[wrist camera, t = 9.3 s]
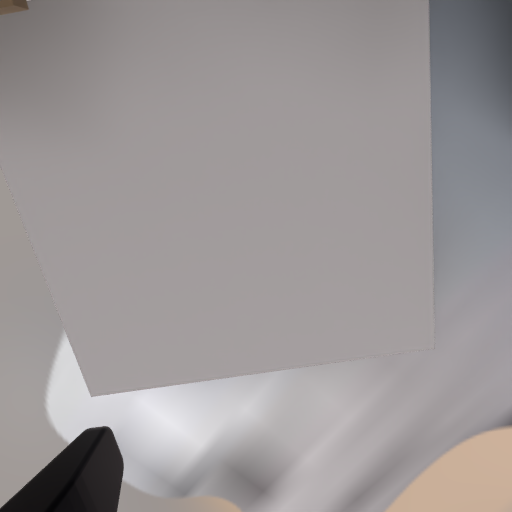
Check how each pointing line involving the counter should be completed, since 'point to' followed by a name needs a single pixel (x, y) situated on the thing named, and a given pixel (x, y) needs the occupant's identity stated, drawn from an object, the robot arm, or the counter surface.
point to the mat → (223, 181)
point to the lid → (12, 6)
